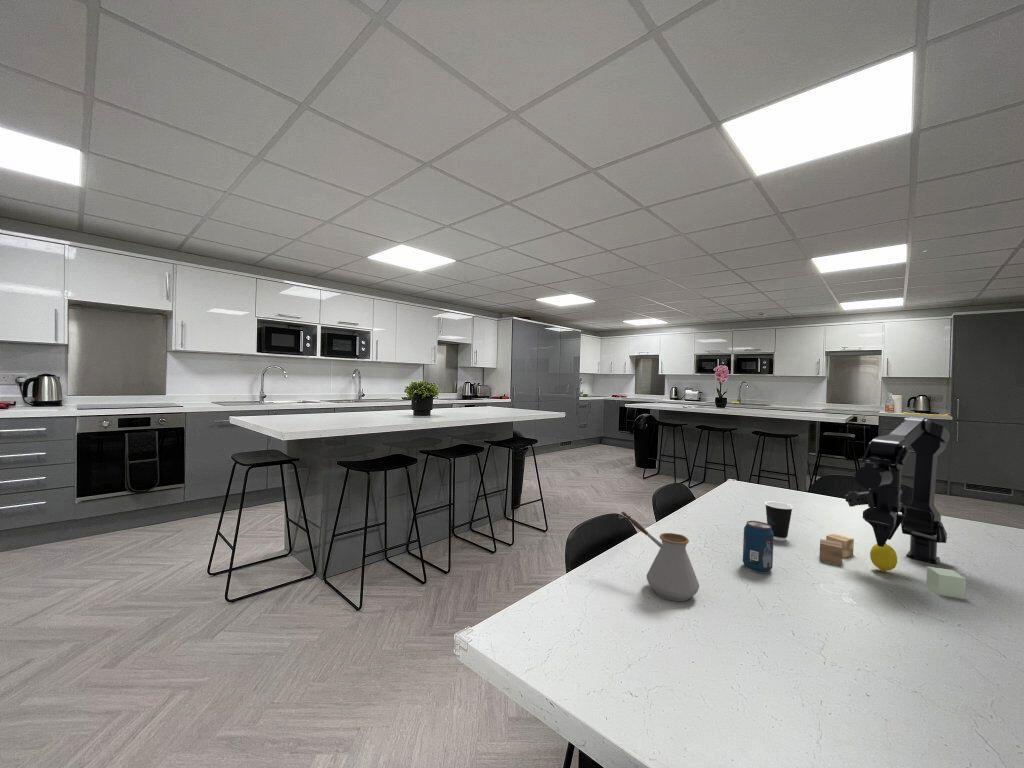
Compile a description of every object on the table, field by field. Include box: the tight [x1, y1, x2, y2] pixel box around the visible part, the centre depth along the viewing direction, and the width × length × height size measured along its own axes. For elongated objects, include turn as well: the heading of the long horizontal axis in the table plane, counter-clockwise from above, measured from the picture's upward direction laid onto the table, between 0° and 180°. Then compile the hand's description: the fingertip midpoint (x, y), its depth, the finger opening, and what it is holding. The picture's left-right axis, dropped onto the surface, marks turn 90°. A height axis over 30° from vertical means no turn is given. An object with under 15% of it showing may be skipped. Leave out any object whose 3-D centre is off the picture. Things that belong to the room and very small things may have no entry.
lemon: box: [869, 542, 898, 573], centre depth 114 cm, size 6×6×8 cm
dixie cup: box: [764, 500, 794, 542], centre depth 137 cm, size 8×8×11 cm
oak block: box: [825, 533, 855, 559], centre depth 126 cm, size 5×5×5 cm
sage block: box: [925, 566, 967, 600], centre depth 103 cm, size 5×5×5 cm
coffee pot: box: [618, 511, 700, 602], centre depth 101 cm, size 21×12×15 cm, turn 37°
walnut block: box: [819, 538, 843, 566], centre depth 120 cm, size 5×5×5 cm
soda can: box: [742, 520, 774, 574], centre depth 113 cm, size 7×7×12 cm
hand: (884, 542), depth 114 cm, fingers open, 9 cm apart
